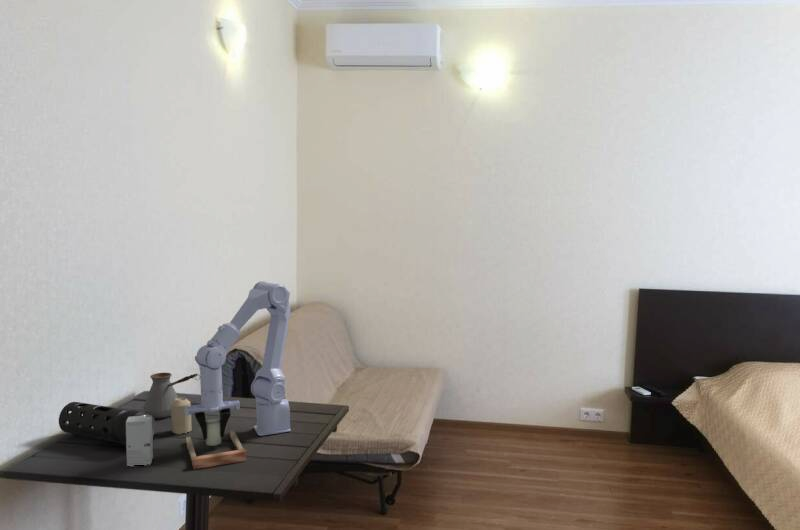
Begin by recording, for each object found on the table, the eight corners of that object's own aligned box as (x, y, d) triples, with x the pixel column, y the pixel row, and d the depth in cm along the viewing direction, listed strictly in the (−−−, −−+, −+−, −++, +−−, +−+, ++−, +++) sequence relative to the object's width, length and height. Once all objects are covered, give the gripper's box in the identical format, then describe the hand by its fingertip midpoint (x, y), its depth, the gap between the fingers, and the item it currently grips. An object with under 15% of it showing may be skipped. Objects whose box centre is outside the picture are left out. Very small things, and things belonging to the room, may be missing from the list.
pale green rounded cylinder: (220, 439, 185) (219, 418, 185) (222, 444, 182) (221, 423, 181) (205, 441, 184) (204, 420, 183) (207, 446, 180) (206, 425, 179)
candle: (185, 435, 193) (184, 401, 192) (168, 434, 194) (166, 400, 193) (195, 428, 198) (193, 396, 197) (178, 427, 199) (176, 395, 198)
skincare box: (126, 467, 170) (124, 422, 169) (129, 460, 174) (127, 416, 173) (151, 465, 171) (149, 420, 170) (154, 458, 176) (152, 414, 175)
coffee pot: (135, 417, 209) (133, 371, 207) (163, 406, 219) (161, 362, 217) (186, 427, 200) (184, 378, 198) (213, 415, 210) (211, 369, 208)
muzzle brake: (86, 430, 198) (84, 396, 197) (158, 443, 187) (157, 407, 186) (58, 441, 189) (56, 406, 188) (133, 455, 178) (131, 418, 177)
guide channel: (234, 435, 192) (234, 427, 192) (246, 460, 174) (246, 451, 174) (186, 442, 187) (185, 434, 187) (193, 469, 169) (193, 459, 168)
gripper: (185, 396, 175) (187, 446, 176) (240, 389, 180) (242, 437, 182) (182, 389, 181) (185, 437, 182) (236, 383, 187) (238, 429, 188)
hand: (213, 437), depth 182 cm, fingers closed on pale green rounded cylinder, 4 cm apart
